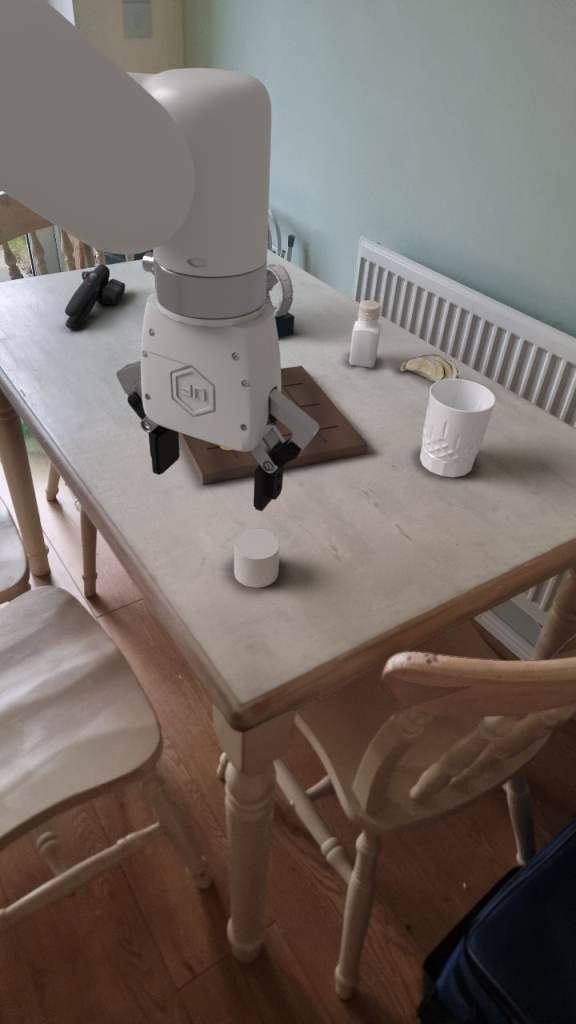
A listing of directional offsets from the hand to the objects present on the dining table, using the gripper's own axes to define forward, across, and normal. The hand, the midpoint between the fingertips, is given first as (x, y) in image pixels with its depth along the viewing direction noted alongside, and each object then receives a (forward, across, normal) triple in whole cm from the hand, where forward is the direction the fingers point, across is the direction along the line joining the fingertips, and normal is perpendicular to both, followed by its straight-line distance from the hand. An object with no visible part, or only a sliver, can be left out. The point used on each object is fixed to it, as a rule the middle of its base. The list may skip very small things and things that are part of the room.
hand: (215, 483), depth 58 cm
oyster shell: (+16, +5, +55) cm, 58 cm away
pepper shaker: (+16, -6, +56) cm, 58 cm away
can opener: (+16, -54, +49) cm, 74 cm away
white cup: (+16, +13, +36) cm, 41 cm away
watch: (+16, -24, +58) cm, 65 cm away
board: (+15, -12, +32) cm, 37 cm away
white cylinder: (+15, +1, +6) cm, 17 cm away
